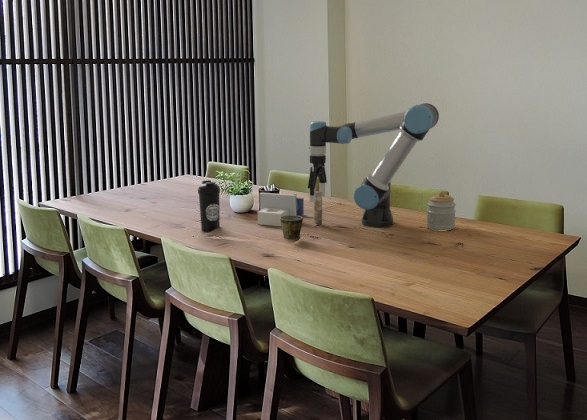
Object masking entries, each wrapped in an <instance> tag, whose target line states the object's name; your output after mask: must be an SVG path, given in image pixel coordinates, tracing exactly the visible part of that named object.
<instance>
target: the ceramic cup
mask: <svg viewBox="0 0 587 420" xmlns="http://www.w3.org/2000/svg"><path fill="white" fill-rule="evenodd" d="M280 221H281V226H280V227H281V228H282V235H283V238H284V239H288V240H294V241H293V242H298V241H299V240H300V237H301V236H300V235H301V231H302V230H301V229H302V227H303V226H302V225H303V221H304V217H303V216H299V215H287V216H282V217H281V218H280ZM295 239H296V240H295Z"/></svg>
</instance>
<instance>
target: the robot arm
mask: <svg viewBox="0 0 587 420" xmlns="http://www.w3.org/2000/svg"><path fill="white" fill-rule="evenodd" d="M439 118H440V114H439V110H438V109H437V107H436V106H435V105H433V104H432V103H427V102H426V103H419V104H416V105H413V106H412V107H409V108H408V109H407V111H401V112H397V113H393V114H387V115H383V116H379V117H373V118H368V119H364V120H358V121H355V122H348V123H345V124H343V125H338V126H329V125H327V122H326V121H322V120H316V121H315V120H314V121H311V122H310V123H309V147H308V149H309V154H310V155H309V163H310V164H312V166H310V171H309V177H308V183H307V184H308V185H307V189H309V203H314V202H316V192H317V191H316V190H317V189H316V185H317V182H318V181H319V183H318V191H320V192H322V198H323V197H324V198H325V197H326V184H327V183H328V180H327V173H326V168H325V166H326V165H325V164H326V160H327V156H326V154H327V143H330V144H331V143H332V144H341V145H343V144H345V145H346V144H348V145H349V144H350V143H351V141H352V140H354V139H359V138H364V137H365V138H366V137H370V136H374V135H379V134H384V133H390V132H394V131H396V132H397V131H399V133H398V134H397V136H396V137H395V139H394V140H393V142H392V144H391V145H390V147H389V148H388V149H387V151H386V152H385V154H384V155H383V156H382V158H381V160H380V161H379V162H378V164H377V166H376V167H375V169H374V170H373V172H372V173H369V174H367V175H366V176H365V178H364V180H363V181H362V182H361V184H360V185H358V187H356V188H355V190H354V192H353V199H354V203H355V204H356V206H358V207H359V208H360V209H362V210H364V212H363V213H362V216H361V224H362V225H364V226H366V227H371V226H374V227H373V228H384V227H383V226H386V227H390V225H391V226H393V225H394V217H393V214H392V211H391V185H392V182H391V181H392V179H393V177H395V175H396V173H397V172H398V170H399V169H400V167H402V165H403V163H404V162H405V160H406V159H407V157H408V156H409V154H410V153H411V151H412V150H413V148H414V147H415V145H416V144H417V142H420V141H423V140H424V139H425V137H426V135H427V134H428V133H429V131H430V130H431V129H432V128H434V127H435V126H436V125H437V124H438V121H439ZM392 224H393V225H392Z"/></svg>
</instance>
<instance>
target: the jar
mask: <svg viewBox="0 0 587 420" xmlns="http://www.w3.org/2000/svg"><path fill="white" fill-rule="evenodd" d="M454 200H455V198H454V197H452V196H451V195H449V194H446V193H445V192H444V191H443V190H442V191H441V190H440V191H439V193H438V194H432V195H431V196H430V197H429V198H428V202H427V203H426V205H428V206H427V209H426V223H425V224H426V229H428V228H429V229H433V230H450V229H453V228H454V229H455V227H456V223H455V222H456V221H455V218H456V209H455V207H456V206H457V203H456V202H454ZM429 229H428V230H429ZM454 229H453V230H454ZM433 230H432V231H433Z"/></svg>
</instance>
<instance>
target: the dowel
mask: <svg viewBox="0 0 587 420" xmlns="http://www.w3.org/2000/svg"><path fill="white" fill-rule="evenodd" d="M313 223H314V224H316V225H315V227H322V226H323V197H322V192H320V191H319V190H318V191H316V202H313Z"/></svg>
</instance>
